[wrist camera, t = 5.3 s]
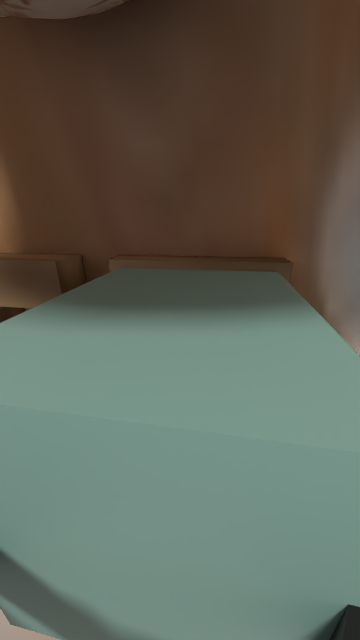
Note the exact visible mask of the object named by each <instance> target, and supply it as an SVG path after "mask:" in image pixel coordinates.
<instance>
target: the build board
mask: <svg viewBox="0 0 360 640" xmlns="http://www.w3.org/2000/svg"><path fill="white" fill-rule="evenodd" d="M85 283H86V280H85V274H84V268H83V262H82V255H76V254H14V253H0V323H1V322H4V321H6V320H8V319H10V318H12V317H14V316H16V315H19V314H21V313H23V312H25V311H27V310H29V309H32V308H34V307H36V306H38V305H40V304H42V303H45V302H47V301H49V300H51V299H53V298H55V297H57V296H60V295H62V294H64V293H66V292H68V291H70V290H73V289H75V288H77V287H79V286H81V285H83V284H85Z"/></svg>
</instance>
